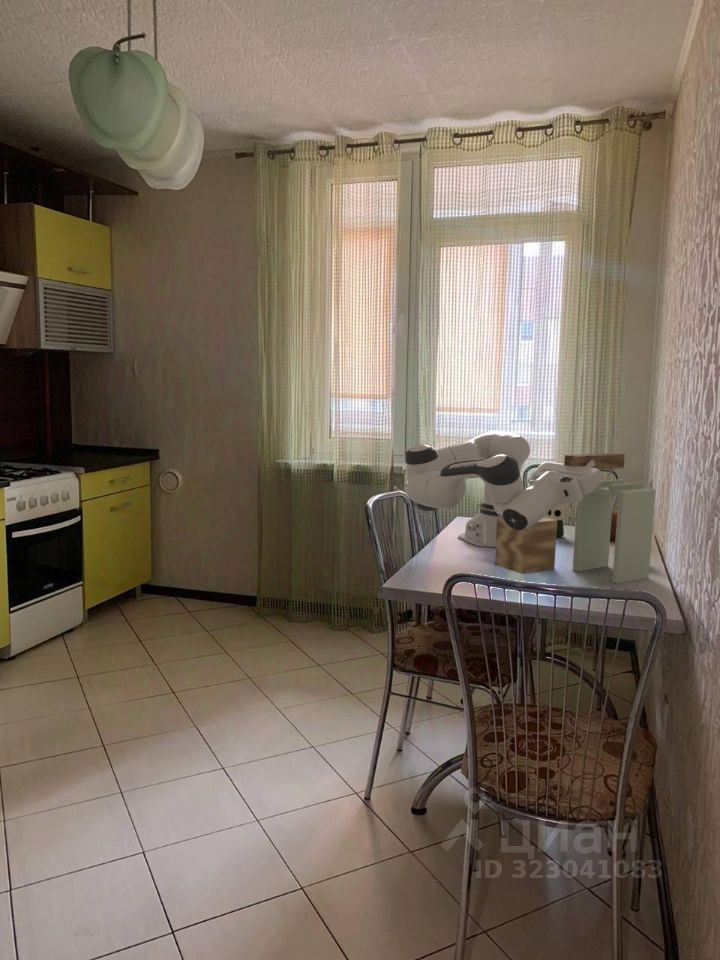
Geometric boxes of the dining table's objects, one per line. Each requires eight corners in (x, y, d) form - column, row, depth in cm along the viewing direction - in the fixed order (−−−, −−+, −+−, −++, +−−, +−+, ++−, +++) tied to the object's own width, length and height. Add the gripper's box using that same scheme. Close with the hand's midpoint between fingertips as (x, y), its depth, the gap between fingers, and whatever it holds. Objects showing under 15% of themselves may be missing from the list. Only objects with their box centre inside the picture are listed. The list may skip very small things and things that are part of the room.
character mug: (537, 536, 266) (538, 501, 264) (544, 533, 271) (546, 499, 270) (565, 540, 259) (567, 504, 258) (572, 537, 265) (575, 502, 263)
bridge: (572, 570, 216) (578, 479, 212) (603, 565, 223) (610, 477, 220) (616, 583, 203) (623, 487, 199) (648, 577, 210) (656, 484, 206)
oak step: (494, 564, 221) (497, 516, 219) (525, 560, 228) (528, 513, 226) (522, 574, 211) (525, 523, 209) (554, 569, 218) (557, 520, 216)
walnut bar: (563, 469, 199) (564, 455, 198) (612, 466, 209) (613, 452, 209) (575, 471, 196) (576, 456, 195) (623, 468, 206) (624, 454, 206)
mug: (593, 539, 262) (595, 511, 260) (597, 535, 269) (599, 508, 268) (628, 543, 256) (630, 515, 255) (631, 539, 264) (633, 511, 263)
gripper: (528, 492, 205) (559, 466, 210) (585, 503, 187) (617, 474, 193) (521, 473, 202) (552, 447, 208) (578, 483, 185) (611, 454, 190)
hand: (584, 460), depth 200 cm, fingers closed on walnut bar, 4 cm apart
